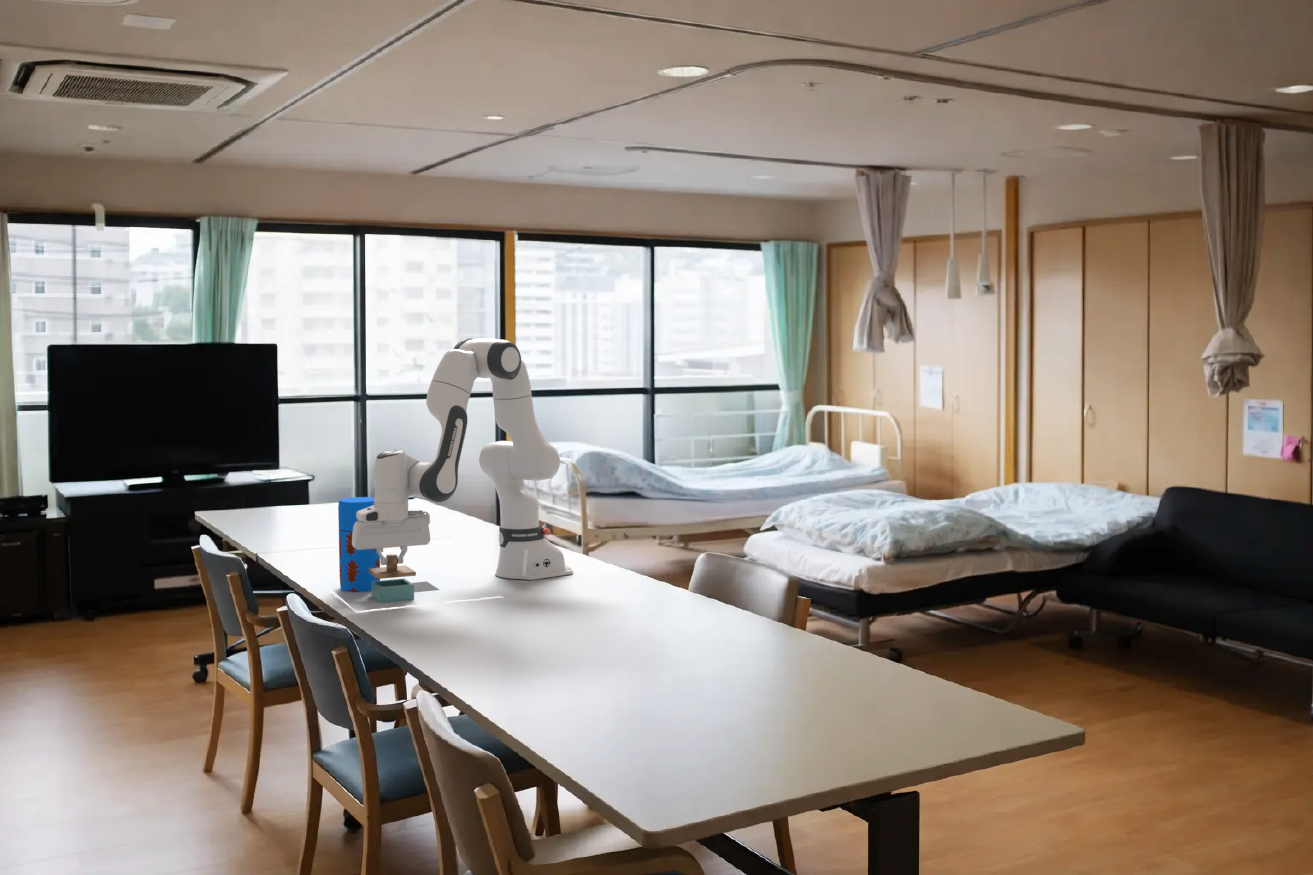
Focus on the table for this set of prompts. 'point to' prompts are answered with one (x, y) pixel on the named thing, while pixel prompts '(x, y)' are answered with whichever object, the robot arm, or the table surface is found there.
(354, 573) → the thermos
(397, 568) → the lid
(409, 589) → the teal open box
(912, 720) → the table surface
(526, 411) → the robot arm
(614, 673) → the table surface
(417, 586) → the mat
